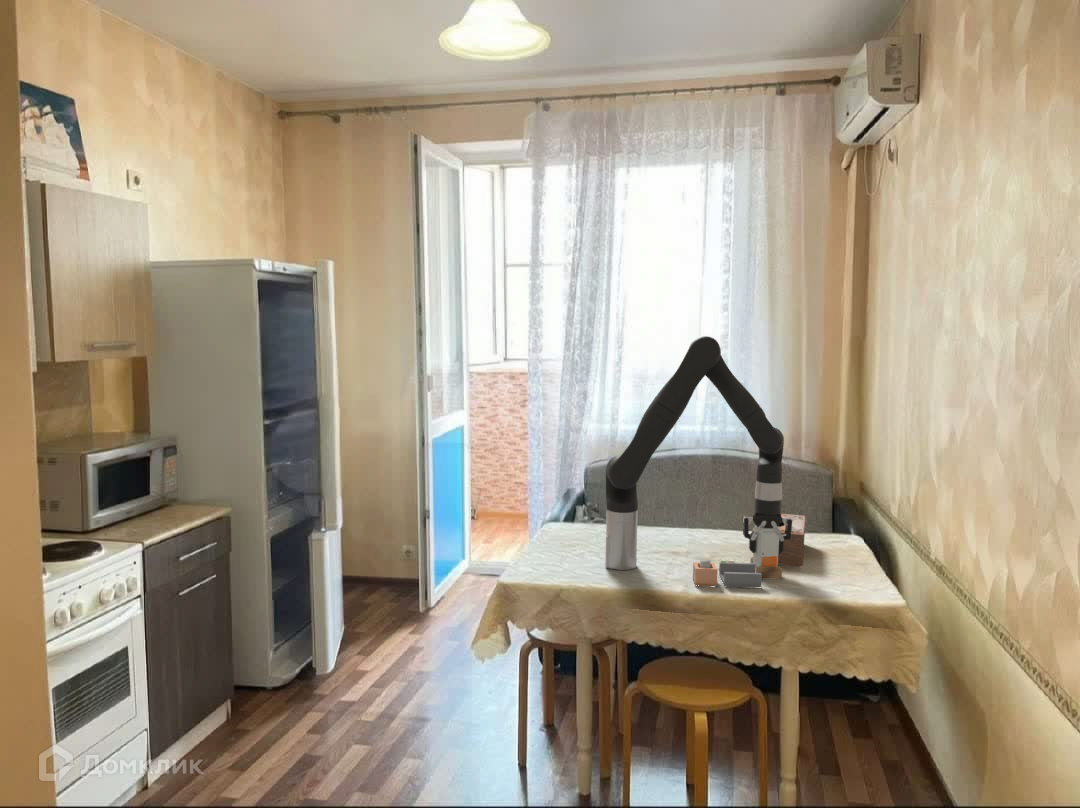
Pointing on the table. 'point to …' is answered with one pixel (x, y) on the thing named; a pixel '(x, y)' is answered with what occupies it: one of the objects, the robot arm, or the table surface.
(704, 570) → the cup
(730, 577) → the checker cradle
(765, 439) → the robot arm
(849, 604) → the table surface
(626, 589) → the table surface
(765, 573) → the trough
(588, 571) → the table surface
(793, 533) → the tissue box cover
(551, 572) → the table surface
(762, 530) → the skincare box
